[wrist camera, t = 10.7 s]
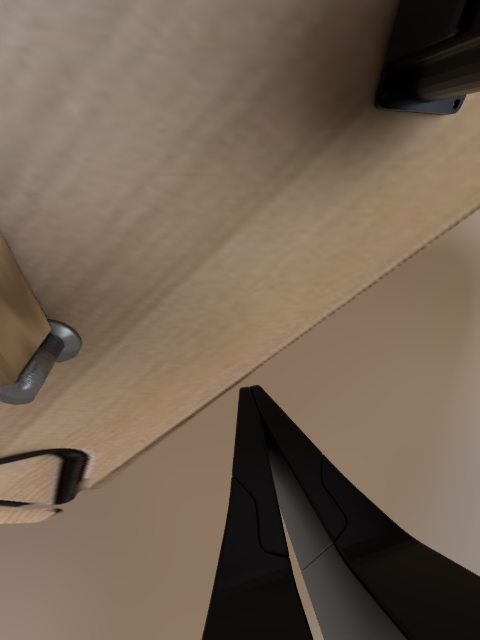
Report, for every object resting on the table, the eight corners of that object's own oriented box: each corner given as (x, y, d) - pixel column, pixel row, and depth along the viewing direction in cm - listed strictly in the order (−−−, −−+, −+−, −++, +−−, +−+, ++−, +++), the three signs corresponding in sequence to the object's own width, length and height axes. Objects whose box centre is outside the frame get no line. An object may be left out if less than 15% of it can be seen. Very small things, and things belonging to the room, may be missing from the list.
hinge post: (69, 316, 18) (35, 366, 14) (89, 355, 21) (65, 407, 17) (5, 322, 17) (-52, 377, 13) (34, 362, 20) (-6, 419, 16)
